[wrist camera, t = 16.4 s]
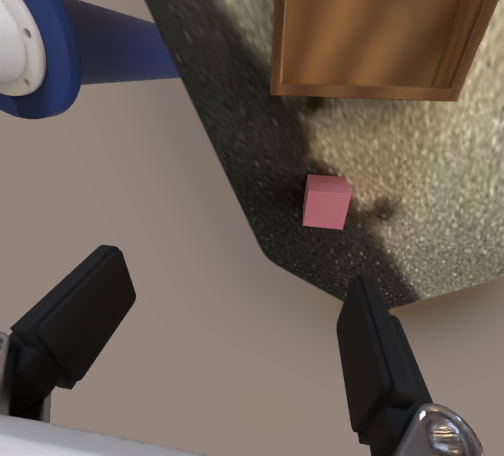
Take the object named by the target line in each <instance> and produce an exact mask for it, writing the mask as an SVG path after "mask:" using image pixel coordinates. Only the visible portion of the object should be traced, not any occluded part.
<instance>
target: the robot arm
mask: <svg viewBox="0 0 504 456" xmlns="http://www.w3.org/2000/svg"><path fill="white" fill-rule="evenodd" d="M45 70H46V56H45V50H44V45H43V41H42V38H41V35H40V32H39V29H38V27H37V25H36V23H35V20H34V18H33V16H32V15H31V13H30V11H29V10H28V8H27V6H26V4H25V3H24V2H23V0H0V93H1V94H4V95H9V96H24V95H28V94H31V93H33V92H34V91H36V90H37V89H38V88H39V87H40V85H41V84H42V81H43V79H44V76H45ZM135 299H136V293H135V290H134V287H133V284H132V281H131V278H130V275H129V272H128V269H127V266H126V263H125V260H124V256H123V253H122V251H120V250H119V248H117V247H115V246H108V245H101V246H99V247H98V248H97V249H96V250H95V251H94V252H92V253H91V254H90V255H89V256H88V257H87V258H86V259H85V260H84V261H83V262H82V263H81V264H79V265H78V266H77V267H76V268H75V269H74V270H73V271H72V272H71V273H70V274H68V275H67V276H66V277H65V278H64V279H63V280H62V281H61V282H60V283H59V284H58V285H57V286H55V287H54V288H53V289H52V290H51V291H50V292H49V293H48V294H47V295H46V296H45V297H43V298H42V299H41V300H40V301H39V302H38V303H37V304H36V305H35V306H34V307H33V308H32V309H30V310H29V311H28V312H27V313H26V314H25V315H24V316H23V317H22V318H21V319H20V320H19V321H17V322H16V323H15V324H14V325H13V326H12V327H11V328H10V329H11V330H12V331H13V332H12V333H11V334H10V335H9V336H8V335H7V334H6V333H3V332H0V456H209V455H204V454H200V453H194V452H190V451H185V450H180V449H175V448H170V447H166V446H161V445H155V444H151V443H146V442H141V441H136V440H131V439H126V438H121V437H116V436H111V435H107V434H102V433H97V432H92V431H86V430H81V429H76V428H71V427H66V426H61V425H56V424H51V423H50V407H51V392H52V390H53V389H54V387H55V386H57V387H60V388H66V389H72V388H73V387H74V385H75V384H76V382H77V381H79V380H81V379H82V378H83V377H84V376H85V374H86V372H87V371H88V369H89V368H90V367H91V365H92V364H93V362H94V361H95V359H96V358H97V357H98V355H99V353H100V352H101V351H102V349H103V348H104V346H105V345H106V343H107V342H108V340H109V339H110V337H111V336H112V334H113V333H114V332H115V330H116V329H117V327H118V326H119V324H120V323H121V321H122V320H123V318H124V317H125V315H126V314H127V312H128V311H129V310H130V308H131V307H132V305H133V303H134V302H135ZM337 336H338V343H339V350H340V356H341V362H342V369H343V376H344V382H345V388H346V395H347V401H348V408H349V415H350V421H351V426H352V430H353V431H354V432H357V433H358V437H359V443H360V444H366V445H370V451H371V456H484V452H483V449H482V445H481V443H480V441H479V439H478V438H477V436H476V434H475V433H474V432H473V430H472V429H471V427H469V425H468V424H467V423H466V422H465V421H464V420H463V419H462V418H461V417H460V416H459V415H458V414H456V413H455V412H453V411H452V410H450V409H448V408H447V407H444V406H442V405H439V404H433V401H432V399H431V397H430V394H429V392H428V389H427V387H426V385H425V382H424V379H423V377H422V374H421V372H420V370H419V367H418V365H417V362H416V360H415V357H414V355H413V353H412V350H411V348H410V345H409V343H408V340H407V338H406V335H405V333H404V330H403V328H402V326H401V323H400V321H399V319H398V318H397V317H396V316H394V315H390V313H389V311H388V308H387V305H386V303H385V300H384V298H383V295H382V292H381V290H380V287H379V284H378V282H377V279H376V278H375V277H372V276H363V275H358V276H357V278H353V279H352V280H351V283H350V286H349V289H348V292H347V295H346V298H345V300H344V303H343V307H342V310H341V312H340V315H339V318H338V321H337Z"/></svg>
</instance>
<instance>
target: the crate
mask: <svg viewBox="0 0 504 456" xmlns="http://www.w3.org/2000/svg"><path fill="white" fill-rule="evenodd" d="M498 1H499V0H275V1H274V22H273V42H272V63H271V83H270V95H281V96H311V97H340V98H369V99H399V100H428V101H458V98H459V96H460V93H461V91H462V88H463V86H464V84H465V81H466V79H467V76H468V74H469V71H470V69H471V67H472V64H473V62H474V59H475V57H476V54H477V52H478V50H479V47H480V45H481V42H482V40H483V37H484V35H485V32H486V30H487V28H488V25H489V23H490V20H491V18H492V15H493V13H494V11H495V8H496V6H497V3H498Z"/></svg>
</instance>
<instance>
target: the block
mask: <svg viewBox="0 0 504 456" xmlns="http://www.w3.org/2000/svg"><path fill="white" fill-rule="evenodd" d="M350 198H351V192H350V189H349V187H348V184H347V181H346V179H345V177H336V176H323V175H310V174H308V175H307V182H306V189H305V196H304V203H303V226H312V227H322V228H331V229H341V230H342V229H343V225H344V221H345V217H346V214H347V210H348V206H349V202H350Z"/></svg>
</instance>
